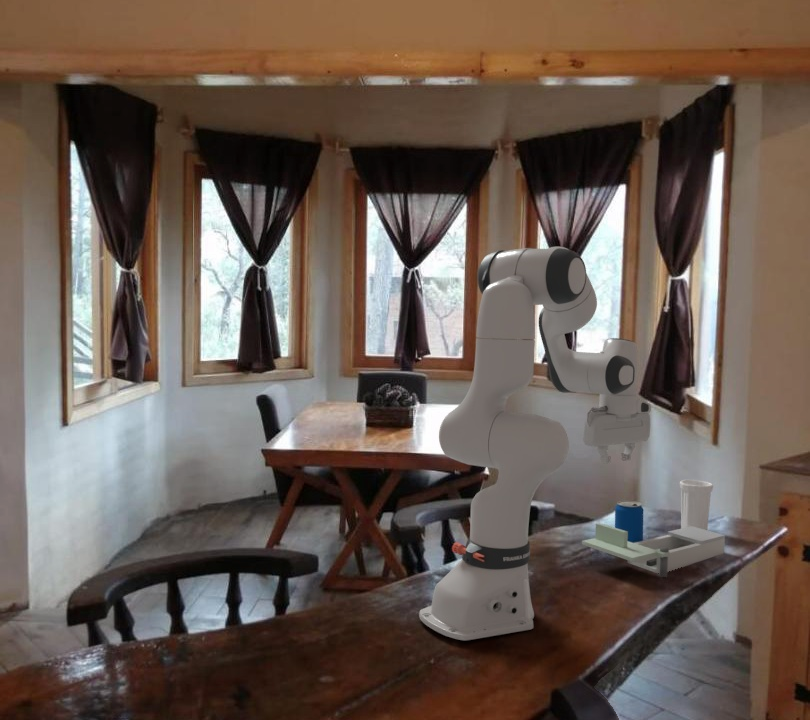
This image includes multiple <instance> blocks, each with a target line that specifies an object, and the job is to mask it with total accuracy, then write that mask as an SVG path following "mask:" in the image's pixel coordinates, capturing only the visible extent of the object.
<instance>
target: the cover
mask: <svg viewBox="0 0 810 720" xmlns="http://www.w3.org/2000/svg"><path fill="white" fill-rule="evenodd" d="M627 540H628V532H627V531H624V530H621V529H617V528H615V526H614V527H613V526H612V525H607V524H604V523H600V522H598V523H595V535H594V538H588V539H585V540H581V545H582V546H586V547H587V548H588V547H589V548H592V549H595V550H597V551H600V552H603V553H606V554H609V555H612V556H615V557H618V558H621V559H623V560H627V561H628V560H629V561H632V562H634V561H637V560H641V559H645V558H649V557H653V556H659V557H666V556H670V552H669V548H666V547H660V549H657V550H654V549H651V548H648V547H645V546H641V545H638V544H635V543H632V542H629V541H627Z"/></svg>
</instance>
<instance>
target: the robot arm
mask: <svg viewBox="0 0 810 720" xmlns="http://www.w3.org/2000/svg"><path fill="white" fill-rule="evenodd" d="M476 277H477V279H476V280H477V285H478V288H479V292H480V293H481V298H480V299H481V300H480V302H479V303H480V304H479V309H478V314H477V315H478V316H477V320H476V321H477V323H476V333H475V334H476V335H475V337H476V339H475V355H474V366H473V374H472V380H471V383H470V386H469V388H468V391H467V393H466V395H465V396H464V398H463V400H462V401H461V402H460V403H459V404H458V406H456V407H455V408H454V409H453V410H452V411H450V412H448V413H447V415H446V416H445V417H444V419H443V420H442V422H441V425H440V426H439V431H438V439H439V445H440V448H441V450H442V452H443V455H445V456H446V457H447V458H450V459H452V460H455V461H457V462H459V463H462V464H466V465H469V466H475V467H482V468H491V469H496V470H497V471H498V473H497V476H498V477H497V480H496V483H495V484H492V485H490V486H487V487H485V488H482V489H480V491H478V492H477V493H476V494H475V496H473V499H472V500H471V502H470V520H469V521H470V523H469V524H470V527H469V528H470V529H469V531H470V532H469V537H468V538H467V541H466V543H465V545H464V544H461V543H460V542H454V543H453V545H452V546H451V551H452V552H453V553H454V554H457V555H459V556H461V560H460V561H459V562H457V564H456V565H455V566H453V568H452V569H451V570H450V571H449V572H448V573H447V574H445V576H444V577H442V579H440V581H439V582H437V584H436V585H435V587H434V590H433V595H432V598H431V599H432V600H431V605H430V606H427V607H424V608H422V609H420V610H419V613H418V616H419V620H420V621H421V622H422V623H423V624H424V625H426V627H429V628H430V629H432V630H433V631H435V632H436V633H438V634H441V635H443V636H445V637H449V638H451V639H455V640H460V641H471V640H477V639H483V638H490V637H494V636H501V635H506V634H511V633H517V632H524V631H529V630H532V629H534V620H533V619H534V617H535V612H534V608H533V605H532V603H533V602H532V599H531V589H530V578H529V572H528V571H529V570H528V569H529V567H528V566H529V565H528V563H529V562H530V561H531V559H530V558H531V557H530V556H531V542H530V541H529V523H530V512H531V506H532V502H533V498H534V496H535V493H536V492H537V489H538V488H539V487H540V485H541V483H543V482H544V480H545V479H547V478H548V477H549V476H551V475H552V474H553V473H555V472H557V471H558V470H559V469H560V468H561V467H562V465H563V464H564V463H565V461H566V460H567V457H568V454H569V448H570V446H569V445H570V443H569V437H568V434H567V431H566V430H565V428H564V426H563V425H562V424H561V423H560V422H559V421H558V420H555V419H551V418H548V417H545V416H541V415H538V414H532V413H531V414H530V413H521V412H520V413H519V412H511V411H506V405H507V402H508V399H509V397H510V396H511V395H513V394H516V393H518V392H520V391H521V390H524V389H525V388H527V387H528V386H529V384H530V383H531V381H532V379H533V378H534V374H535V373H534V367H535V343H536V341H535V339H536V325H535V324H536V323H535V321H536V319H535V310H534V306H541V305H542V307H543V308H542V309H541V311H540V312H539V316H538V329H539V335H540V338H541V341H542V342H541V343H542V345H543V348H544V352H545V355H546V359H547V364H548V373H549V374H548V375H549V379H550V381H551V383H552V385H553V386H554V388H555V389H557V391H558V392H561V393H562V394H564V393H580V394H591V395H593V394H594V395H599V398H598V401H599V403H598V404H599V405H598V406H594V407H591V408H590V410H589V411H588V412H587V414H586V418H585V423H584V429H583V435H582V441H583V444H584V445H586V446H587V447H592V448H593V447H594V448H597V451H598V453H599V455H600V463H601V464H602V465H603V464H604V465H607V464H611V458H612V457H611V456H610V455H609V454H608V450H609V446H614V445H622V444H624V445H623V446H625V447H624V451H623V452H622V453H621V458H620V460H622V462H623V461H625V462H631V460H632V453H634V452H633V451H634V450H635V447H636V443H640V442H647V441H648V439H649V438H650V435H651V416H650V414H649V413H650V412H652V411H651V409H652V406H651V404H650V403H648V402H646V401H643V400H642V399H639V398H638V389H637V382H638V381H637V380H638V378H639V353H638V352H639V351H638V346H637V343H636V342H634V341H633V340H630V339H626V338H616V337H615V338H614V337H611V338H607V339H605V340H604V343H603V346H602V350H601V351H600V352H582V351H575V350H573V349H570V348H569V347H568V344H567V339H566V336H565V334H570V333H574V332H577V331H579V330H580V329H582V328H583V327H585V326H586V325H588V323H589V322H590V321H591V320H592V318H594V316H595V314H596V311H597V306H598V301H597V295H596V292H595V289H594V287H593V284H592V283H591V282H592V281H591V279H590V278H589V276H588V273H587V268H586V264H585V262H584V260H583V258H582V257H581V256H580V255H579V254H578V253H577V252H575V251H574V250H571V249H569V248H566V247H565V246H551V247H548V248H533V247H523V248H515V249H509V250H497V251H494V252H491V253H488V254H487V255H485V256H484V258H483V259H482V261H481V262H480V264H479V267H478V269H477V276H476Z"/></svg>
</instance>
